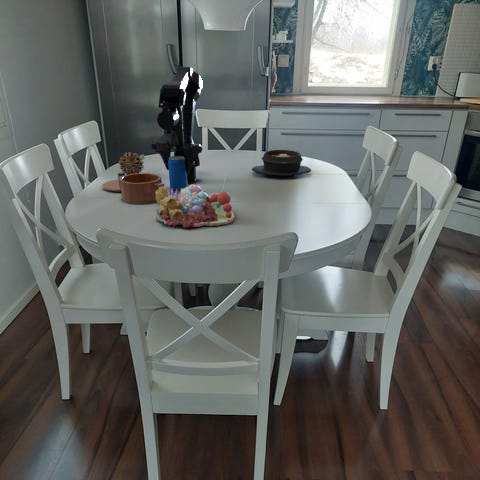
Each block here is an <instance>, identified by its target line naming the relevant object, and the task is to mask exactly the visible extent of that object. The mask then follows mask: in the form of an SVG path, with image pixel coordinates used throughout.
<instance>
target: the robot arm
mask: <svg viewBox="0 0 480 480" xmlns="http://www.w3.org/2000/svg"><path fill="white" fill-rule="evenodd" d="M201 77H202V76H201V75H200V74H199V73H197V71H195V70H194V69H193V68H192V67H191V66H179V67H177V69H176V73H175V74H174V76H173V77H172V79H171V80H170V81H167V82H164V83H163V84H162V86H161V88H160V91H159V99H158V109H161V111H160V112H159V113H158V115H157V117H156V123H157V125H158V126H159V128H160V129H161V130H163V135H161V136H159V137H158V138H157V139H153V140H152V142H151V150H154V152H155V153H157V154H159V156H160V158H161V160H162V162H163V165H164V167H165V169H166V171H169V167H168V160H169V157H172V156H171V155H172V150H173V156H183V157H184V158H185V166H186V173H187V185H192V184H193V183H196V182H199V181H200V178H197V167H200V166H201V161H200V156H199V155H200V154H201V153H203V147H202V145H201V144H200V143H195V142H194V127H195V113H196V103H197V101H198V99H199V98H200V97H201V93H202V91H201V90H203V80H202V78H201Z"/></svg>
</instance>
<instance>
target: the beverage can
mask: <svg viewBox="0 0 480 480" xmlns="http://www.w3.org/2000/svg"><path fill="white" fill-rule="evenodd" d="M168 167H169V170H168V179H169V189H170V191H171V189H172V188H173V193H174V194H175V192H176V190H177V194H179V193H180V192H181V188H182V190H183V189H184V188H186V187H189V186H188V185H189V184H188V183H187V173H186V166H185V158H184V157H183V156H174V155H173V156H171V157H169V160H168Z"/></svg>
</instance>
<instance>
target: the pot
mask: <svg viewBox="0 0 480 480" xmlns="http://www.w3.org/2000/svg"><path fill="white" fill-rule="evenodd" d="M118 178H119V180H120V186H121V192H120V193H121V200H122V201H123V202H124V203H126V204H131V205H149V204H154V203H157V201H156V198H155V197H156V193H155V192H156V190H158V188H160V187H161V186H165V183H164V182H162V176H161V175H159V174H156V173H150V172H141V173H140V172H139V173H137V174H130V175H126V174H125V176H120V177H118V176H117V179H118Z"/></svg>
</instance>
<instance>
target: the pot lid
mask: <svg viewBox="0 0 480 480" xmlns="http://www.w3.org/2000/svg"><path fill="white" fill-rule="evenodd" d="M125 175H126V173H124V172H122V171H120V172H117V179H112V180H109V181H106V182H104V183H102V185H101V188H102V189H103V190H105V191H109V192H120V193H121V186H120V180H119V178H118V177H120V176H125Z"/></svg>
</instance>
